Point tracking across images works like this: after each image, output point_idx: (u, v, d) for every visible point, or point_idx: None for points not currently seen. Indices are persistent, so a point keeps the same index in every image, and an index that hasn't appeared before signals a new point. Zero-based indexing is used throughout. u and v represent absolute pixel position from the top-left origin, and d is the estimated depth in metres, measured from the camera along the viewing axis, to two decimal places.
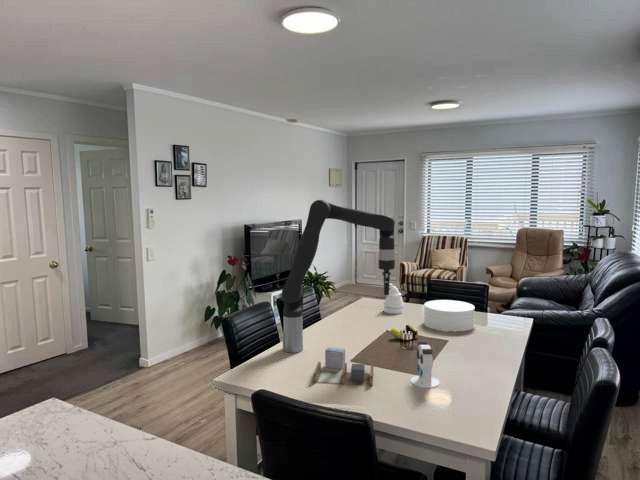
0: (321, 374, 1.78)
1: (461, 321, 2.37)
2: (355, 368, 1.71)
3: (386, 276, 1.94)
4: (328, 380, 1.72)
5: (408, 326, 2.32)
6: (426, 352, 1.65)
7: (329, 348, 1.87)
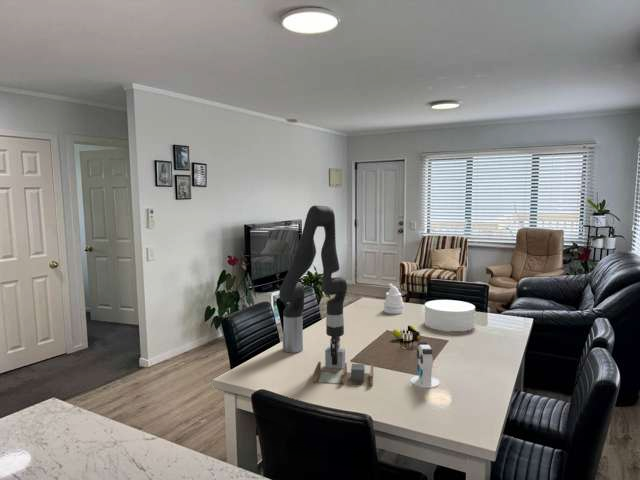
0: (321, 374, 1.78)
1: (461, 321, 2.37)
2: (355, 368, 1.71)
3: (333, 347, 1.79)
4: (328, 380, 1.72)
5: (410, 327, 2.31)
6: (426, 352, 1.65)
7: (329, 348, 1.87)
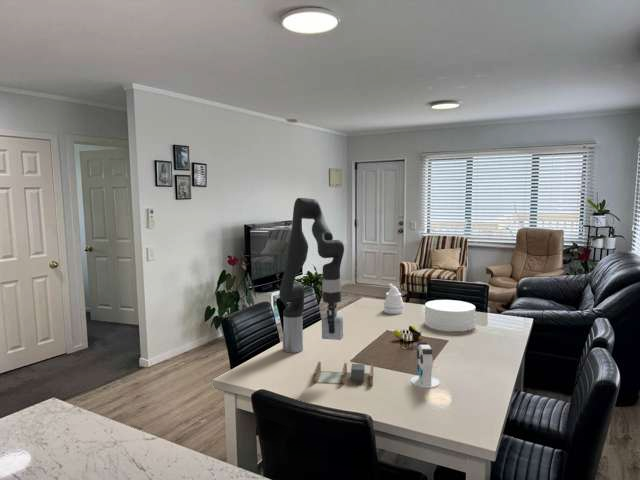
0: (321, 374, 1.78)
1: (462, 321, 2.37)
2: (355, 368, 1.71)
3: (330, 314, 1.67)
4: (328, 380, 1.72)
5: (411, 327, 2.30)
6: (426, 352, 1.65)
7: (326, 316, 1.75)
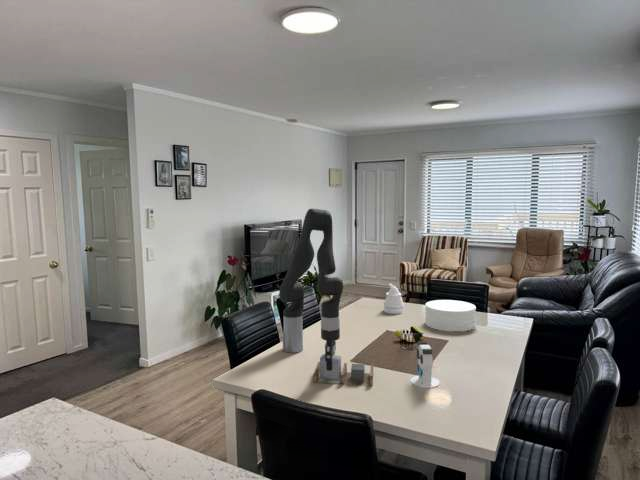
0: None
1: (462, 321, 2.37)
2: (355, 368, 1.71)
3: (328, 350, 1.67)
4: (328, 380, 1.72)
5: (413, 328, 2.29)
6: (426, 352, 1.65)
7: (324, 355, 1.75)
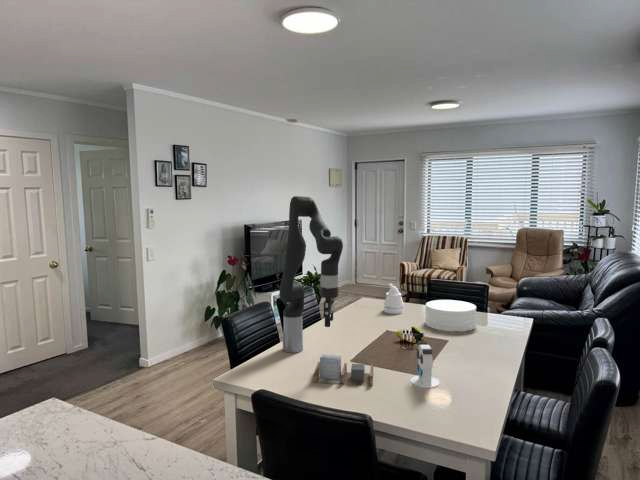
0: None
1: (462, 321, 2.37)
2: (355, 368, 1.71)
3: (326, 306, 1.71)
4: (328, 380, 1.72)
5: (414, 328, 2.28)
6: (426, 352, 1.65)
7: (324, 355, 1.75)
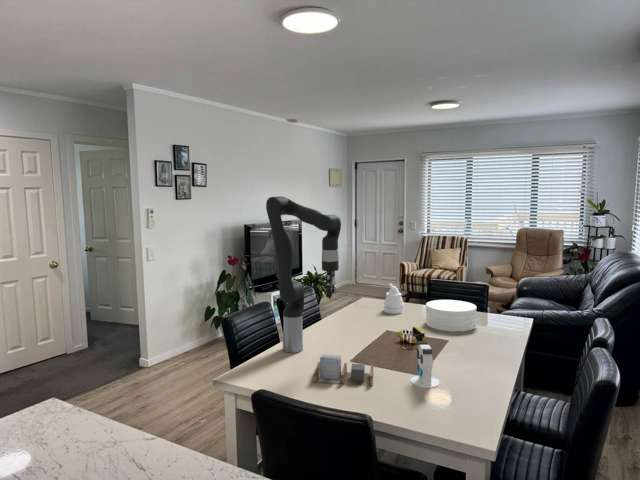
0: None
1: (463, 321, 2.37)
2: (355, 368, 1.71)
3: (328, 278, 1.86)
4: (328, 380, 1.72)
5: (415, 328, 2.28)
6: (426, 352, 1.65)
7: (324, 355, 1.75)
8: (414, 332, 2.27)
